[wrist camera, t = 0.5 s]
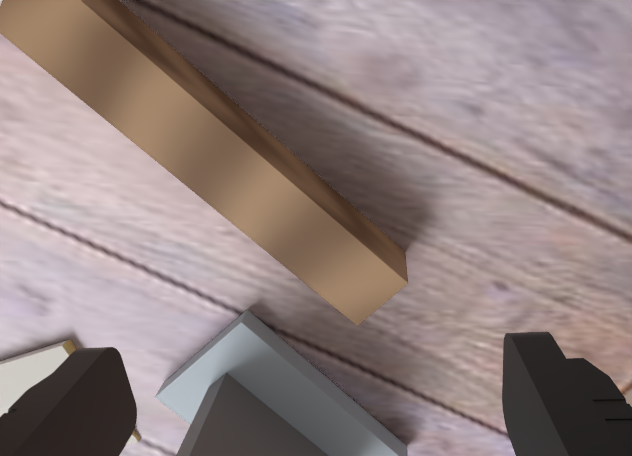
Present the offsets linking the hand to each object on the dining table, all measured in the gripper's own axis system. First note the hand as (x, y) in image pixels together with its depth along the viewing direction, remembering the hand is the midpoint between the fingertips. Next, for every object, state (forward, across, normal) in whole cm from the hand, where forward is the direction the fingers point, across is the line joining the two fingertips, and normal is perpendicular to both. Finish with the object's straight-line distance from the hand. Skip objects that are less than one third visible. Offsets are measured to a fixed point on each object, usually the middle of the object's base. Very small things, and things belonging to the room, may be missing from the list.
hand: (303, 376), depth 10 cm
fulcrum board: (+20, +6, +19) cm, 28 cm away
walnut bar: (+19, +6, -2) cm, 20 cm away
